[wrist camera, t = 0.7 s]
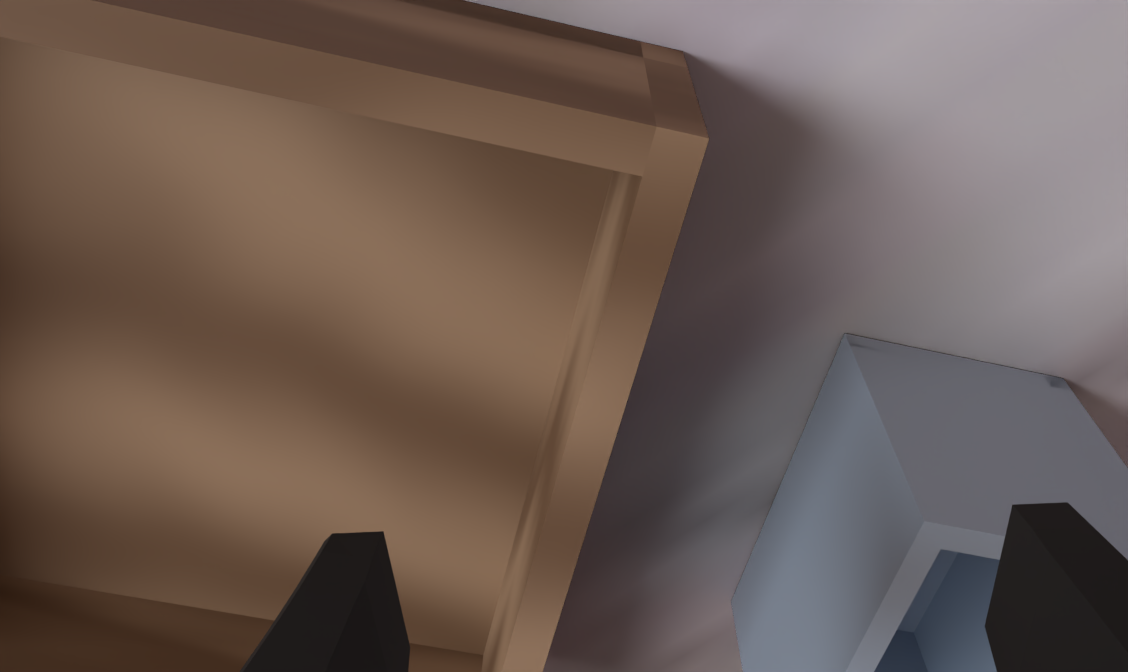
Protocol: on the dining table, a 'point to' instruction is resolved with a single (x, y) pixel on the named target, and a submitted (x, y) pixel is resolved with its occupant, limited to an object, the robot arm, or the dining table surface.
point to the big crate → (316, 314)
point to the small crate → (913, 510)
